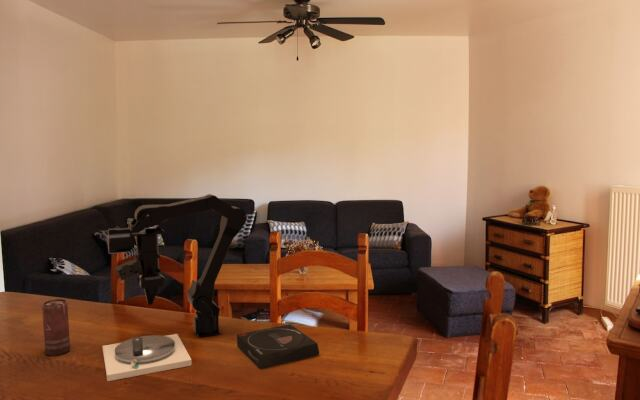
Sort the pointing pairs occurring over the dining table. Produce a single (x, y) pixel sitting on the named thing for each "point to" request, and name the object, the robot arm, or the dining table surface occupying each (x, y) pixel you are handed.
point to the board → (126, 370)
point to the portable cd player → (276, 346)
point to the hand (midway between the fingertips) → (150, 304)
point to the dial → (144, 349)
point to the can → (56, 327)
